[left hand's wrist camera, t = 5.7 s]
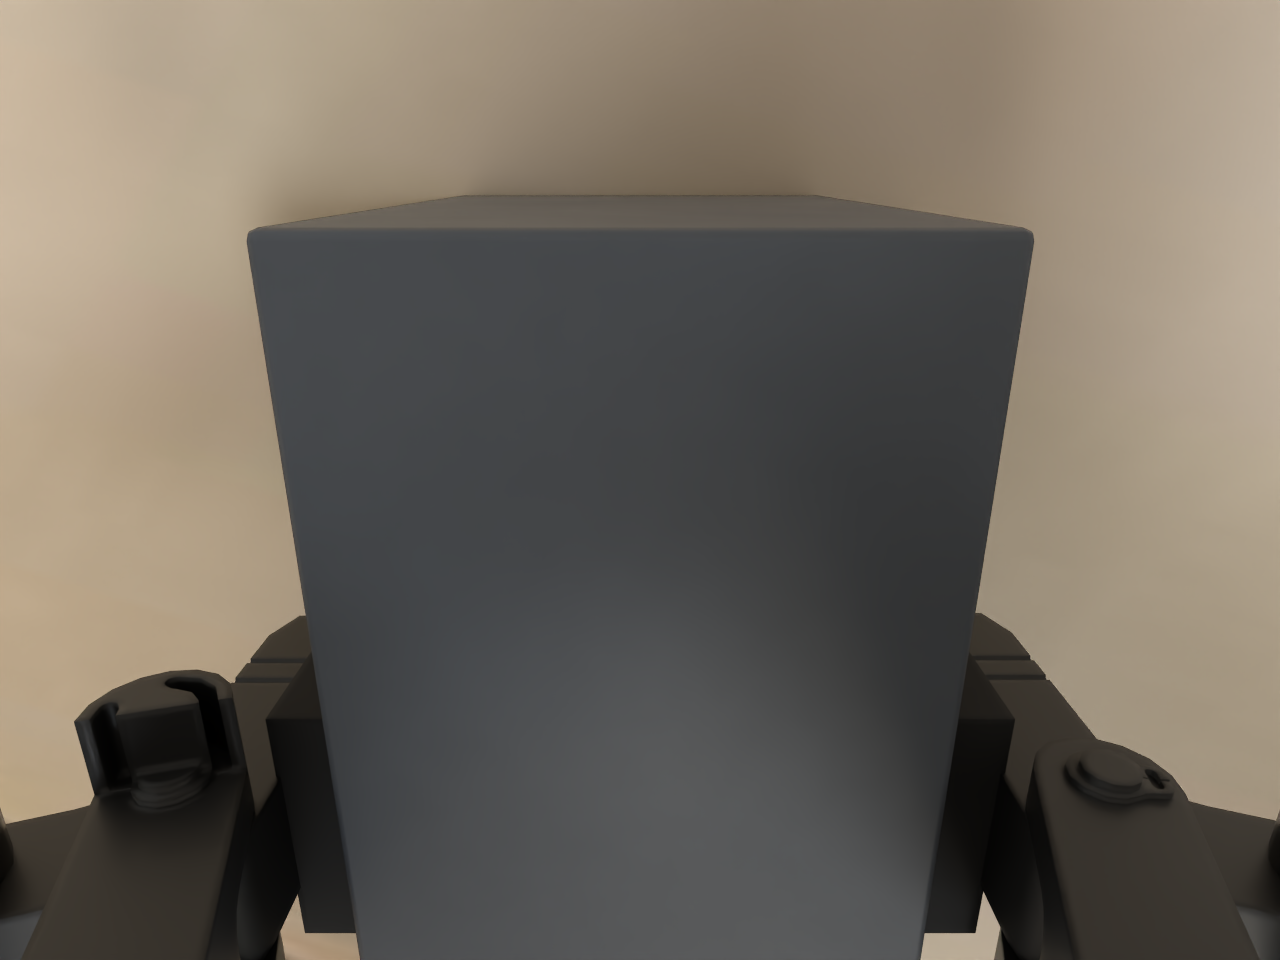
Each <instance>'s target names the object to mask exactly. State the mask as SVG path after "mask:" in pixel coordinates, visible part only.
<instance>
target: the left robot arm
mask: <svg viewBox="0 0 1280 960" xmlns="http://www.w3.org/2000/svg"><path fill="white" fill-rule="evenodd" d="M74 723H75V727H76V730H77V734H78V738H79V741H80V745H81V748H82V752H83V755H84V759H85V762H86V766H87V769H88V773H89V777H90V780H91V784H92V787H93V791H94V794H95V796H94V798H93V800H92V802H91V804H90V805H89V806H86V807H82V808H78V809H75V810H70V811H66V812H61V813H56V814H52V815H47V816H42V817H37V818H33V819H28V820H23V821H19V822H14V823H9V824H5V821H4V818H3V815H2V812H1V809H0V960H285V955H284V948H283V943H282V938H281V933H280V930H281V928H282V926H283V924H284V922H285V920H286V918H287V915H288V913H289V911H290V909H291V907H292V905H293V903H294V901H295V899H296V896H297V894H298V897H299V903H300V908H301V913H302V919H303V924H304V929H305V933H356V929H355V923H354V917H353V910H352V904H351V898H350V891H349V885H348V879H347V872H346V866H345V860H344V853H343V847H342V841H341V835H340V828H339V822H338V816H337V809H336V803H335V797H334V790H333V784H332V778H331V771H330V765H329V759H328V752H327V746H326V740H325V733H324V727H323V721H322V714H321V708H320V702H319V695H318V689H317V683H316V676H315V670H314V664H313V657H312V651H311V645H310V638H309V632H308V626H307V619H306V616H299V617H297V618H296V619H294V620H293V621H291V622H290V623H288V624H286V625H285V626H283V627H282V628H280V629H279V630H277V631H276V632H274V633H272V634H271V635H269V636H268V638H267V639H266V640H265V641H264V643H263V644H262V645H261V646H260V648H259V649H258V650H257V651H256V653H255V654H254V655H253V657H252V658H251V663H247V664H246V665H245V667H244V668H243V669H242V670H241V672H240V673H239V674H238V675H237V677H236V681H235V683H231V684H230V683H229V682H228V681H227V680H225V679H224V678H223V677H221V676H220V675H219V674H215V673H211V672H206V671H201V670H182V671H169V672H164V673H160V674H156V675H151V676H147V677H143V678H140V679H137V680H135V681H132V682H130V683H127V684H125V685H123V686H120V687H118V688H115V689H113V690H111V691H110V692H108V693H107V694H105V695H103V696H102V697H100V698H99V699H97V700H96V701H94V702H93V703H91V704H90V705H88V707H87V708H86V709H85V710H84V711H83V712H82V713H81V715H80V716H79V717H78V718H77V719H76V720H75V721H74ZM983 891H984V893H985V895H986V897H987V900H988V902H989V904H990V906H991V908H992V910H993V912H994V914H995V916H996V919H997V921H998V923H999V925H1000V927H1001V928H1000V933H999V938H998V943H997V948H996V953H995V958H994V960H1280V811H1279V814H1278V817H1277V820H1276V821H1275V820H1270V819H1265V818H1260V817H1256V816H1251V815H1246V814H1241V813H1237V812H1232V811H1227V810H1223V809H1218V808H1213V807H1208V806H1205V805H1201V804H1197V803H1194V802H1190V801H1188V798H1187V796H1186V794H1185V793H1184V791H1183V790H1182V789H1181V787H1180V786H1179V785H1178V783H1177V782H1176V781H1175V779H1174V778H1173V777H1172V775H1170V774H1169V773H1168V772H1166V771H1165V770H1164V769H1162V768H1161V767H1160V766H1158V765H1157V764H1156V763H1154V762H1153V761H1152V760H1150V759H1149V758H1147V757H1144V756H1142V755H1140V754H1138V753H1136V752H1134V751H1132V750H1130V749H1127V748H1125V747H1123V746H1120V745H1116V744H1113V743H1109V742H1105V741H1101V740H1097V739H1096V738H1095V736H1094V735H1093V734H1092V732H1091V731H1090V730H1089V729H1088V727H1087V726H1086V725H1085V724H1084V722H1083V721H1082V720H1081V719H1080V717H1079V716H1078V715H1077V714H1076V712H1075V711H1074V710H1073V709H1072V707H1071V706H1070V705H1069V704H1068V702H1067V701H1066V700H1065V699H1064V697H1063V696H1062V695H1061V694H1060V692H1059V691H1058V690H1057V689H1056V687H1055V686H1054V685H1053V684H1052V682H1051V681H1050V680H1046V675H1045V674H1044V672H1043V671H1042V670H1041V669H1040V667H1039V666H1038V665H1037V664H1036V662H1035V661H1034V660H1030V655H1029V654H1028V652H1027V651H1026V650H1025V649H1024V647H1023V646H1022V645H1021V644H1020V642H1019V641H1018V640H1017V639H1016V637H1015V636H1014V635H1013V634H1012V633H1011V632H1010V631H1008V630H1007V629H1005V628H1003V627H1002V626H1000V625H999V624H997V623H996V622H994V621H992V620H991V619H989V618H988V617H986V616H985V615H983V614H981V613H975V617H974V624H973V630H972V636H971V643H970V649H969V655H968V661H967V668H966V674H965V680H964V687H963V693H962V699H961V706H960V712H959V718H958V725H957V731H956V737H955V744H954V750H953V756H952V762H951V769H950V775H949V781H948V788H947V794H946V800H945V807H944V813H943V819H942V826H941V832H940V838H939V845H938V851H937V857H936V864H935V870H934V876H933V882H932V889H931V895H930V901H929V908H928V914H927V920H926V927H925V933H975V932H976V927H977V922H978V916H979V911H980V906H981V900H982V895H983Z"/></svg>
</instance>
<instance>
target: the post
mask: <svg viewBox="0 0 1280 960" xmlns="http://www.w3.org/2000/svg"><path fill="white" fill-rule="evenodd" d="M1033 245H1034V238H1033V233H1032V232H1031V231H1029V230H1027V229H1025V228H1022V227H1016V226H1009V225H1003V224H996V223H990V222H983V221H977V220H971V219H964V218H958V217H951V216H945V215H938V214H932V213H926V212H919V211H913V210H906V209H900V208H893V207H887V206H880V205H874V204H868V203H861V202H855V201H848V200H842V199H835V198H829V197H823V196H458V197H451V198H445V199H439V200H432V201H426V202H419V203H413V204H406V205H400V206H394V207H387V208H381V209H374V210H368V211H361V212H355V213H349V214H342V215H336V216H329V217H323V218H317V219H310V220H304V221H297V222H291V223H284V224H278V225H272V226H265V227H259V228H256V229H254V230H252V231H249V233H248V237H247V246H248V252H249V259H250V265H251V271H252V278H253V284H254V290H255V297H256V303H257V309H258V316H259V322H260V328H261V335H262V341H263V347H264V354H265V360H266V366H267V373H268V379H269V385H270V392H271V398H272V404H273V411H274V417H275V423H276V430H277V436H278V442H279V449H280V455H281V461H282V468H283V474H284V480H285V487H286V493H287V499H288V506H289V512H290V518H291V524H292V531H293V537H294V543H295V550H296V556H297V562H298V569H299V575H300V581H301V588H302V594H303V600H304V607H305V613H306V619H307V626H308V632H309V638H310V645H311V651H312V657H313V664H314V670H315V676H316V683H317V689H318V695H319V702H320V708H321V714H322V721H323V727H324V733H325V740H326V746H327V752H328V759H329V765H330V771H331V778H332V784H333V790H334V797H335V803H336V809H337V816H338V822H339V828H340V835H341V841H342V847H343V853H344V860H345V866H346V872H347V879H348V885H349V891H350V898H351V904H352V910H353V917H354V923H355V929H356V936H357V942H358V948H359V955H360V960H920V958H921V952H922V946H923V939H924V933H925V927H926V920H927V914H928V908H929V901H930V895H931V889H932V882H933V876H934V870H935V864H936V857H937V851H938V845H939V838H940V832H941V826H942V819H943V813H944V807H945V800H946V794H947V788H948V781H949V775H950V769H951V762H952V756H953V750H954V744H955V737H956V731H957V725H958V718H959V712H960V706H961V699H962V693H963V687H964V680H965V674H966V668H967V661H968V655H969V649H970V643H971V636H972V630H973V624H974V617H975V611H976V605H977V598H978V592H979V586H980V579H981V573H982V567H983V560H984V554H985V548H986V542H987V535H988V529H989V523H990V516H991V510H992V504H993V497H994V491H995V485H996V478H997V472H998V466H999V459H1000V453H1001V447H1002V440H1003V434H1004V428H1005V422H1006V415H1007V409H1008V403H1009V396H1010V390H1011V384H1012V377H1013V371H1014V365H1015V358H1016V352H1017V346H1018V339H1019V333H1020V327H1021V321H1022V314H1023V308H1024V302H1025V295H1026V289H1027V283H1028V276H1029V270H1030V264H1031V257H1032V251H1033Z"/></svg>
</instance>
